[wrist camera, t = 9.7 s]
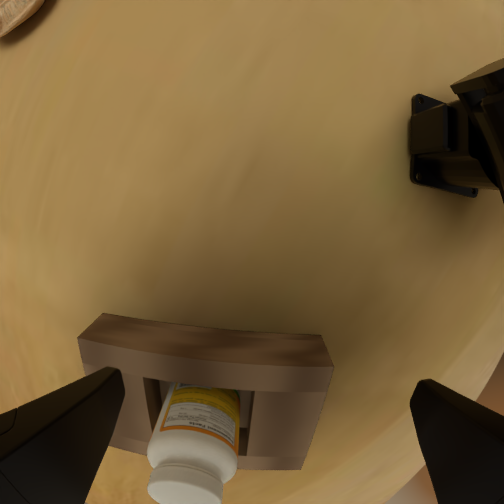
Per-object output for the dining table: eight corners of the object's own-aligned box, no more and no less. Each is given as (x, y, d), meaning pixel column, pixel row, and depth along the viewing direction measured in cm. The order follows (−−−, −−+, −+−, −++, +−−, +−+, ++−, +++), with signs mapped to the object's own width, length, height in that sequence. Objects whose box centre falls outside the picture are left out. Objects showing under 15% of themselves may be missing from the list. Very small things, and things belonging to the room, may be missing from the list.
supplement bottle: (211, 426, 21) (196, 523, 12) (157, 391, 20) (118, 488, 11) (255, 394, 20) (257, 503, 11) (198, 353, 19) (166, 463, 10)
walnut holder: (320, 335, 20) (334, 366, 16) (295, 436, 22) (300, 469, 18) (102, 313, 20) (77, 337, 16) (122, 416, 22) (107, 445, 18)
